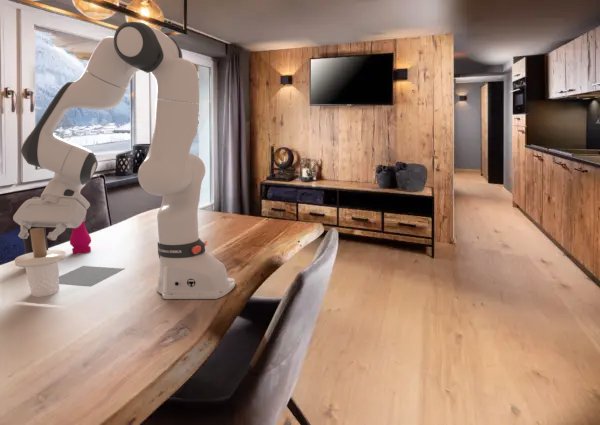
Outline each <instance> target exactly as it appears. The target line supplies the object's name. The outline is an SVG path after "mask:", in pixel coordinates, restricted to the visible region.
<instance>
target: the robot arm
mask: <svg viewBox="0 0 600 425" xmlns="http://www.w3.org/2000/svg"><path fill="white" fill-rule="evenodd" d="M197 69H198V68H197V67H196V65H195V64H194V63H192V62H191V61H190V60H188V59H186V58H183V52H182V49H181V47H180V45H179V44H178V42H176V40H175V39H173V38H172V37H171V36H169V35H166V34H165V33H163V31H162V30H160V29H158V28H155V27H154V26H150V25H147V24H146V23H144V22H141V21H127V22H124V23H122V24H121V25H119V26H118V28H116V31H115V32H114V36H106V37H103V38H102V39H100V41H99V42H98V44H97V46H96V47H95V49H94V50H93V52H92V54H91V56H90V58H89V60H88V62H87V64H86V66H85V69H84V72H83V73H82V74H81V76H80V77H79V78H78V79H76V80H75V81H67V82H66V83H65V84H64V85H63V86H61V88H60V89H59V90H58V91H57V93H56V95H55V96H54V97H53V99H52V100H51V102H50V103H49V104H48V107H46V110H45V111H44V113H43V115H42V116H41V117H40V119H39V120H38V122H37V124H36V125H35V127H34V129H32V130H31V132H30V134H29V135H28V136H27V137H26V138H25V140H24V141H23V143H22V145H21V150H20V153H21V155H22V156H23V158H24V160H25V162H27V164H28V165H30V166H34V167H37V168H41V169H45V170H48V171H50V172H53V173H54V174H53V175H54V176H53V177H52V178H51V179H50V180H49V182H47V185H46V186H45V188H44V190H43V191H42V193H41V194H40V196H33V197H31V198H29V199H27V200H25V201H24V202H22V204H21V205H20V207H19V208H18V209H17V211H16V212H15V213H14V214H13V216H12V218H13V221H14V222H15V224H17V225H19V226H20V231H19V232H18V235H17V236H18V237H19V238H20V239H22V240H23V239H27V238H28V236H29V233H28V229H30V228H31V226H37V227H45V228H54V229H53V231H49V232H48V235H46V236H47V240H50V241H57V238H58V236H60V235H61V234H63V233H64V232H65V231H66V229H73V228H77V227H79V226H80V225H81V224H82V222H83V220H84V218H85V219H86V216H87V213H88V212H87V210H88V209H89V207H91V203H90V202H89V200H87V199H86V197H84V196H83V195H82V194H81V191H82V189H83V188H84V187H85V186H86V185H87V184H88V183H90V182H91V180H92V178H93V176H94V175H95V172H96V171H97V169H98V165H99V164H98V160H97V157H96V155H95V153H94V152H93V151H91V150H90V149H87V148H85V147H83V146H80V145H79V144H75V143H72V142H70V141H68V140H66V139H63V138H61V137H58V136H57V135H55V130H56V128H58V126H59V125H60V123H61V121H62V120H63V118H64V116H65V115H66V113H67V112H68V111H69V110H72V109H87V110H96V111H102V110H103V111H104V110H111V109H113V108H115V107H117V106H119V105H120V104H121V102H122V101H123V99H124V97H125V95H126V93H127V91H128V89H129V86H130V83H131V82H132V79H133V77H134V75H135V74H136V73H137V72H138V71H142V72H143V73H147V74H148V73H151V75H152V76H153V77H154V79H155V83H156V95H155V96H156V99H155V118H154V120H155V121H154V130H153V135H152V138H151V143H150V145H149V148H148V151H147V155H146V156H145V157H146V158H144V160H143V161H142V163H141V164H140V166H139V167H138V170H137V179H138V183H139V185H140V187H141V188H142V189H143V190H144V191H145V192H146V193H148V194H150V195H153V196H160V197H162V201H161V204H160V208H159V209H158V211H157V215H156V223H157V234H158V241H157V255H158V259H159V271H158V272H159V274H158V275H159V276H158V282H157V287H156V291H157V292H158V293H159V294H161V295H162V299H165V300H215V299H216V300H217V299H220V298H222V297H224V296H227V294H229V293H231V291H232V290H233V289H234V288H235V286H236V280H235V278H233V277H232V278H231V277H228V271H227V269H226V266H225V265H224V263H223V262H221V261H220V260H218V259H217V258H215V257H214V256H213V255H212V254H210V253H209V252H208V251H206V246H207V245H208V241H207V240H206V241H204V242H203V241H202V240H201V238H200V234H199V215H198V212H199V202H200V196H201V189H202V188H201V187H202V183H203V180H204V177H205V175H206V166H205V164H204V162H203V160H202V159H201V157H199V156H198V155H195V154H194V153H190V151H191V148H192V145H193V142H194V139H195V138H196V136H197V134H198V125H199V109H200V82H199V73H198V70H197Z"/></svg>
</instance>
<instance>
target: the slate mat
mask: <svg viewBox="0 0 600 425" xmlns="http://www.w3.org/2000/svg"><path fill="white" fill-rule="evenodd" d="M123 270H125V268H121V267H120V268H119V267H105V266H103V267H102V266H91V265H82V266H80V267H77V268H75V269H74V270H71V271H69V272H66V273H64V274H62V275H59V285H67V286H78V287H79V286H80V287H93V286H95V285H97V284H99V283H100V282H102V281H104V280H107V279H108V278H110V277H112V276H114V275H117V274H118V273H120V272H122V271H123Z"/></svg>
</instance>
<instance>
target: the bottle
mask: <svg viewBox="0 0 600 425" xmlns="http://www.w3.org/2000/svg"><path fill="white" fill-rule="evenodd" d="M33 228H44V235H45V242H46V249H47V250H49V245H48V238H47V236H48V235H47V230H46V227H37V226H31V228H30V229H33ZM30 229H28V233H29V236H28V238H27V239H22V242H23V246H24V247H23V248H24V254H28V253H32V252H33V248H32V241H31V234H30Z"/></svg>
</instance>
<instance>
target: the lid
mask: <svg viewBox="0 0 600 425" xmlns="http://www.w3.org/2000/svg"><path fill="white" fill-rule="evenodd" d="M30 234H31V241H32V248H33V252H32V253H28V254H25V253H24V254H21V255H19V256H17V257H15V259H14V265H15V266H17V267H18V268H25V267H37V266H44V265H49V264H53V263H56V262H58V263H59V262H61V261H63V260H65V259H66V251H64V250H60V249H48V250H47V249H46V242H45V235H44V228H33V229H30Z"/></svg>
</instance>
